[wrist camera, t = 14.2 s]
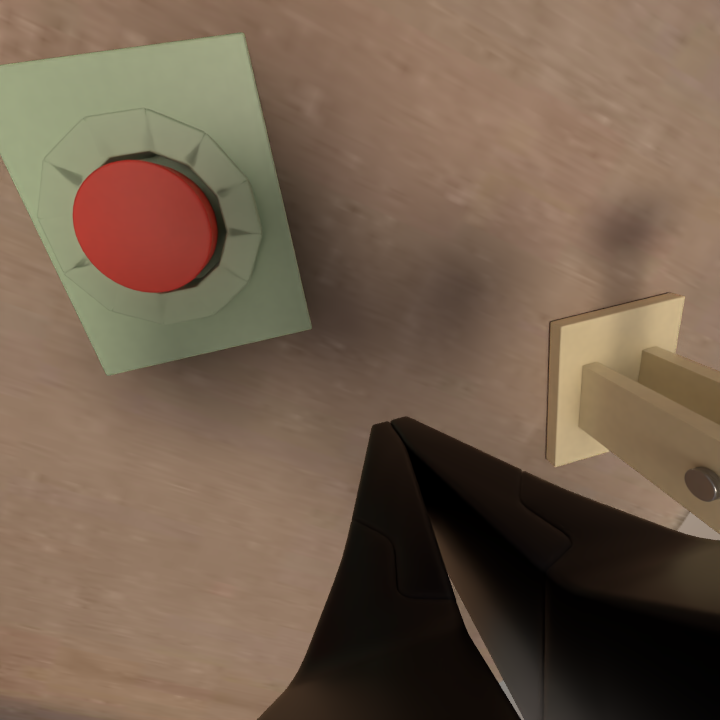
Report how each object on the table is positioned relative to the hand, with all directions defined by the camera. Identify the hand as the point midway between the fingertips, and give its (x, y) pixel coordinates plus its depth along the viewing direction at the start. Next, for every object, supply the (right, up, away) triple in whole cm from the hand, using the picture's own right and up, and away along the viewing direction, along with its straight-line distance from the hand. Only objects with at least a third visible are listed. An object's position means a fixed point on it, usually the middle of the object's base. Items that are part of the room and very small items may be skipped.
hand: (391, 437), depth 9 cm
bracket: (+15, 0, +17) cm, 22 cm away
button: (-8, +7, +5) cm, 11 cm away
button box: (-9, +8, +8) cm, 14 cm away
